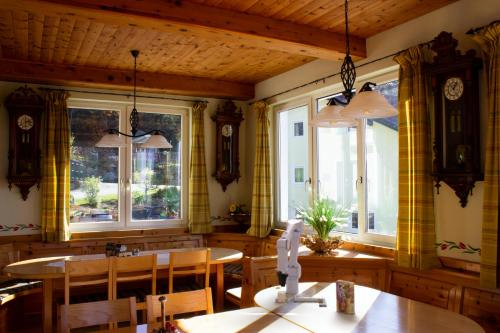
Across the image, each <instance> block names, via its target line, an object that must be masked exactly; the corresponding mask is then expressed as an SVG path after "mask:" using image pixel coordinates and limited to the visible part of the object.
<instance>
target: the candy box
mask: <svg viewBox="0 0 500 333" xmlns="http://www.w3.org/2000/svg"><path fill="white" fill-rule="evenodd" d="M335 296H336V298H335V299H336V303H335V304H336V308H335V310H336V311H337V312H341V313H345V314H348V315H351V314H355V313H356V311H355V310H356V309H355V282H353V281H348V280H343V279H339V280H335Z"/></svg>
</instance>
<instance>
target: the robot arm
mask: <svg viewBox="0 0 500 333" xmlns="http://www.w3.org/2000/svg"><path fill="white" fill-rule="evenodd" d="M285 221H286V222H285V227H286V230H285V231H283V232H282V234H281V236H280V238H279V239H277V241H276V246H275V247H276V252H277V268H274V270H275V271H276V275H277V279H278V285H279V286H280V287H281V288H285V287H286V288H285V293H287V294H292V295H294V294H299V292H300V290H299V280H300V278H301V275H302V266H301V265H300V263H299V262H298V257H299V256H298V255H299V247H300V246H299V245H300V239H301V236H302V235H303V234H304V229H305V227H304V226H305V225H304V224H305V223H304V220H303V219H290V218H289V219H287V220H285ZM289 250H290V251H289Z"/></svg>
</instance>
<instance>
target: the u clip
mask: <svg viewBox="0 0 500 333" xmlns="http://www.w3.org/2000/svg"><path fill="white" fill-rule="evenodd" d="M277 299H278V302H285V299H286V290H285V291H284V290H278V291H277Z"/></svg>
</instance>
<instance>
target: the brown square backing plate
mask: <svg viewBox="0 0 500 333" xmlns="http://www.w3.org/2000/svg"><path fill="white" fill-rule="evenodd" d="M274 303H275V304H289V298H285V302H278V298H275V299H274Z"/></svg>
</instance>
